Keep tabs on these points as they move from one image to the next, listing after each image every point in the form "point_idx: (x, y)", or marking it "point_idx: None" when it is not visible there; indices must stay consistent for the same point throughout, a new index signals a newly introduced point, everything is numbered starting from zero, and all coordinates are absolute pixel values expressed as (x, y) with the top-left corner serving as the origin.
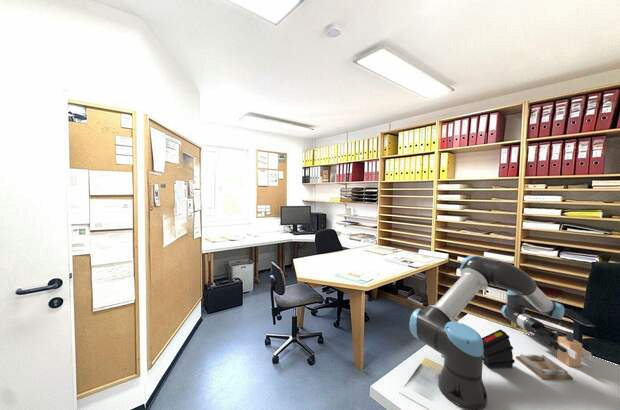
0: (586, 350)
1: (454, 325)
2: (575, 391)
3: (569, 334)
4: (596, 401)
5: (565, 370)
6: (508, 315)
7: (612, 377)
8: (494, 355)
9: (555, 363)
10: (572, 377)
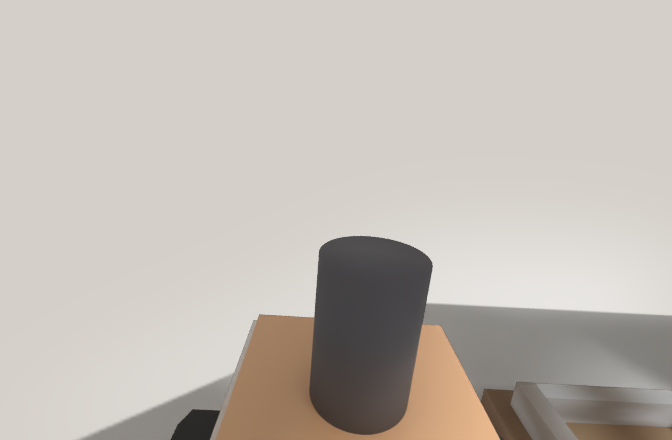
0: (242, 351)
1: None
2: (514, 345)
3: (412, 256)
4: (458, 311)
5: (527, 390)
6: None
7: (156, 413)
8: None
9: None
10: (486, 389)
